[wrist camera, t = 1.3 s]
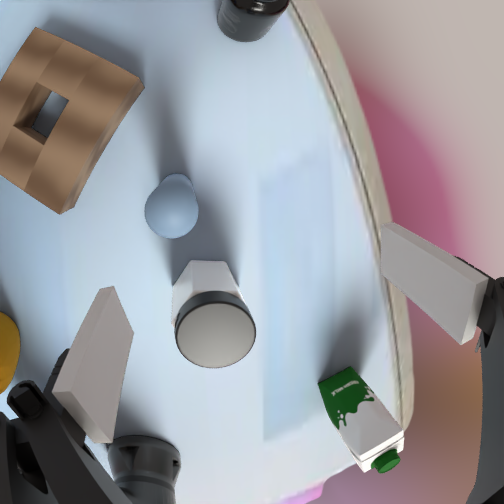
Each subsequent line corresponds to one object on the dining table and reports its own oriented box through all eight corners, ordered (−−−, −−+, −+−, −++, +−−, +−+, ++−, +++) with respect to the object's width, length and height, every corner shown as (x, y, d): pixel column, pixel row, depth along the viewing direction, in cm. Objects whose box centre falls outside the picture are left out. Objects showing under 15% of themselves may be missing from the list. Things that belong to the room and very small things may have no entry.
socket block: (73, 206, 33) (59, 214, 28) (-12, 149, 27) (-32, 151, 22) (144, 87, 31) (138, 77, 26) (49, 38, 25) (35, 26, 20)
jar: (162, 273, 38) (156, 321, 27) (218, 245, 39) (233, 283, 28) (194, 325, 42) (201, 382, 30) (246, 300, 42) (269, 351, 31)
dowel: (181, 212, 36) (180, 247, 22) (153, 195, 35) (134, 221, 21) (199, 184, 36) (209, 202, 22) (171, 167, 34) (162, 174, 21)
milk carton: (322, 408, 53) (366, 484, 35) (311, 382, 50) (361, 466, 32) (360, 387, 54) (412, 456, 35) (354, 359, 51) (414, 434, 32)
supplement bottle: (270, 44, 32) (305, 7, 21) (217, 43, 31) (232, 0, 19) (267, 3, 30) (299, -42, 19) (216, 1, 28) (231, -49, 17)
